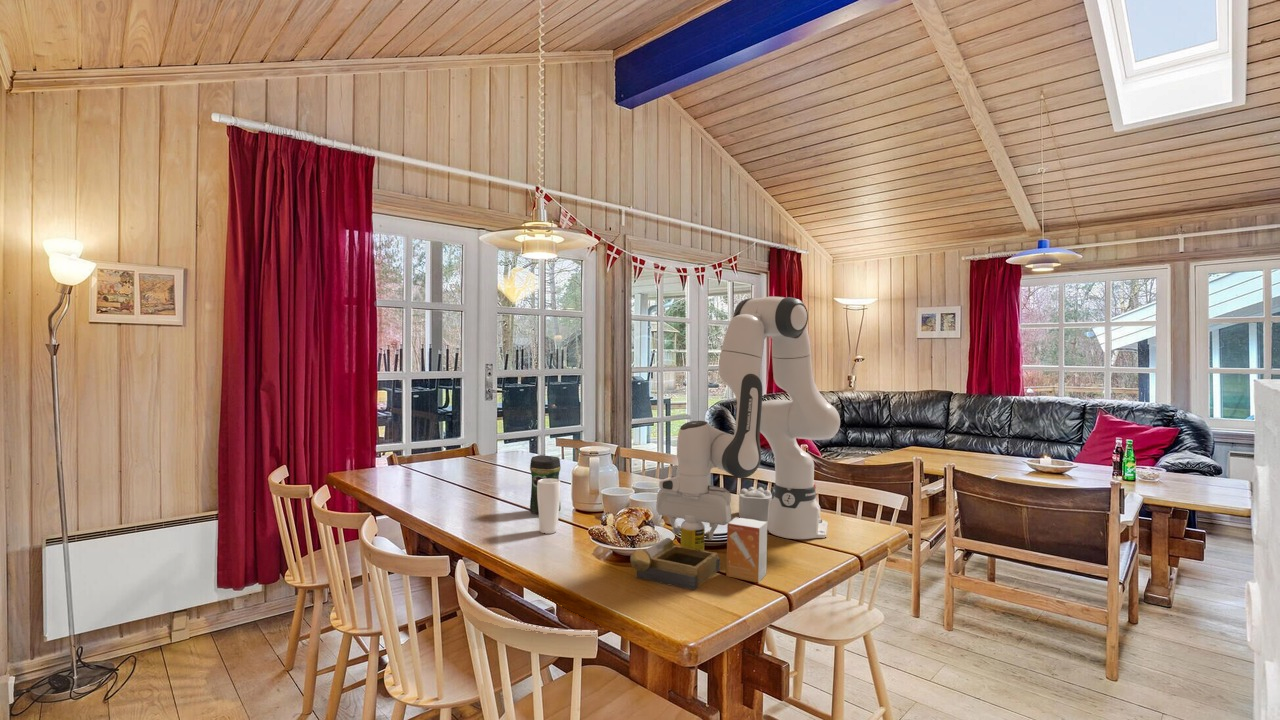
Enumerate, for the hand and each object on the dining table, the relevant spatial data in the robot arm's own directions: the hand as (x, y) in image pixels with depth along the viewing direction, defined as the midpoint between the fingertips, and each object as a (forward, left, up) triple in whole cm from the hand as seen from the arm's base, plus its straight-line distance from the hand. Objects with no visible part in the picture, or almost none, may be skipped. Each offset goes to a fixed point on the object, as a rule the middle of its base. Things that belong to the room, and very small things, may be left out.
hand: (692, 536), depth 162 cm
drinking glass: (+3, -45, -5) cm, 46 cm away
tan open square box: (+14, +2, -5) cm, 15 cm away
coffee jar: (-13, -59, -5) cm, 61 cm away
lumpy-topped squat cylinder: (-46, +1, -5) cm, 46 cm away
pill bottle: (0, 0, -5) cm, 5 cm away
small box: (+6, +17, -5) cm, 19 cm away
